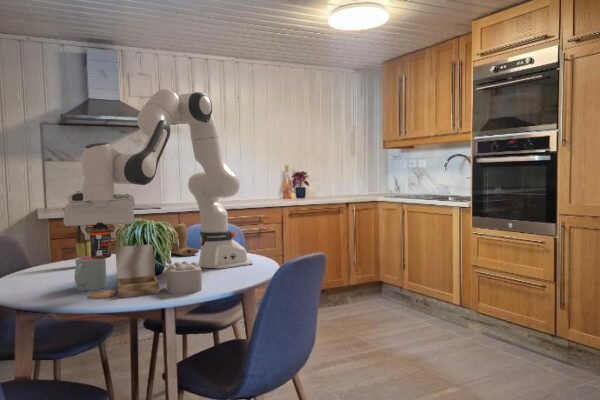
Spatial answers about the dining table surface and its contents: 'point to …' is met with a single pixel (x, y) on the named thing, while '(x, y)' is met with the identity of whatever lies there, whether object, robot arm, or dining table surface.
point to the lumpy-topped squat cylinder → (184, 278)
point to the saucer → (102, 294)
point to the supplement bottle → (100, 241)
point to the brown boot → (182, 242)
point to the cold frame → (136, 271)
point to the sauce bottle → (82, 243)
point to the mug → (90, 273)
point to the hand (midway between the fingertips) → (100, 239)
